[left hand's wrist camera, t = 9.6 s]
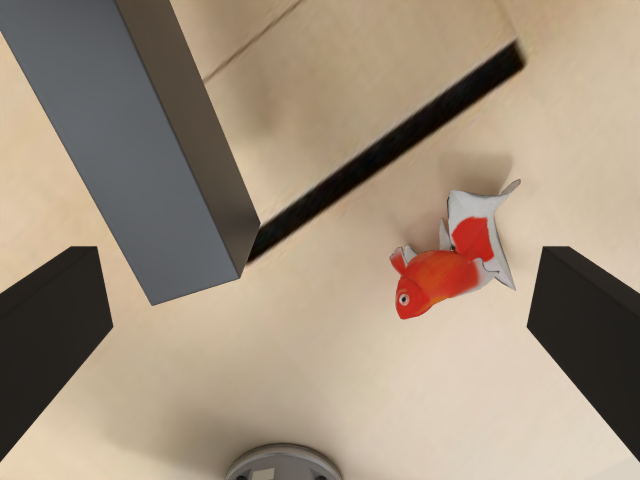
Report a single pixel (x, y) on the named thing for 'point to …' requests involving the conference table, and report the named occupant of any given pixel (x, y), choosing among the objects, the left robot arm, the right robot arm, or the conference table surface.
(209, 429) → the conference table surface
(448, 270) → the fish
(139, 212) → the bar
